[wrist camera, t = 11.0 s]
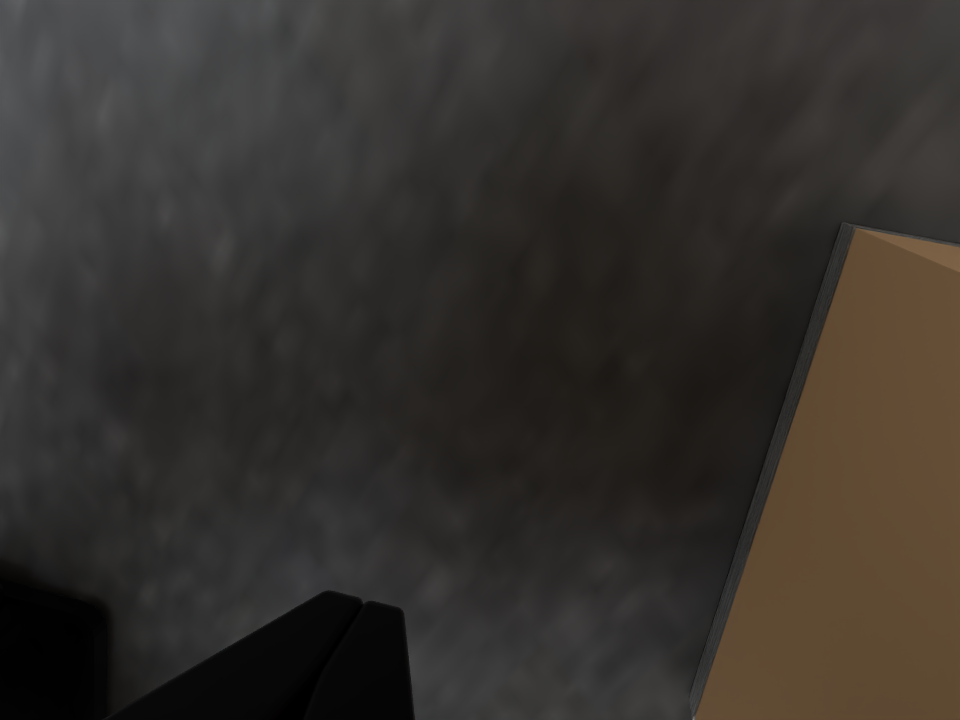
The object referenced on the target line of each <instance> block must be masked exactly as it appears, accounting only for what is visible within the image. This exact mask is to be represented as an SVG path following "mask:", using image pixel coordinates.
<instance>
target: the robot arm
mask: <svg viewBox="0 0 960 720" xmlns="http://www.w3.org/2000/svg"><path fill="white" fill-rule="evenodd" d="M78 627H79V628H80V629H79V628H78ZM106 666H107V626H106V621H105V618H104V617H103V615H102V613H101V612H100V611H99V610H98V609H97V608H96V607H95V606H93V605H92V604H89V603H87V602H85V601H81V600H77V599H73V598H70V597H66V596H62V595H58V594H54V593H51V592H47V591H43V590H39V589H35V588H31V587H28V586H24V585H20V584H16V583H12V582H9V581H5V580H1V579H0V720H415V714H414V705H413V695H412V685H411V675H410V666H409V656H408V646H407V637H406V627H405V617H404V612H403V610H402V609H401V608H399V607H395V606H391V605H387V604H383V603H379V602H375V601H368V602H365V603H364V604H363V601H362V600H361V599H360V598H358V597H355V596H351V595H347V594H343V593H339V592H335V591H329V590H328V591H324V592H322V593H320V594H318V595H316V596H315V597H313V598H311V599H310V600H308V601H306V602H304V603H303V604H301V605H299V606H297V607H296V608H294V609H292V610H291V611H289V612H287V613H285V614H284V615H282V616H280V617H278V618H277V619H275V620H273V621H272V622H270V623H268V624H266V625H265V626H263V627H261V628H260V629H258V630H256V631H254V632H253V633H251V634H249V635H247V636H246V637H244V638H242V639H241V640H239V641H237V642H235V643H234V644H232V645H230V646H228V647H227V648H225V649H223V650H222V651H220V652H218V653H216V654H215V655H213V656H211V657H210V658H208V659H206V660H204V661H203V662H201V663H199V664H197V665H196V666H194V667H192V668H191V669H189V670H187V671H185V672H184V673H182V674H180V675H178V676H177V677H175V678H173V679H172V680H170V681H168V682H166V683H165V684H163V685H161V686H160V687H158V688H156V689H154V690H153V691H151V692H149V693H147V694H146V695H144V696H142V697H141V698H139V699H137V700H135V701H134V702H132V703H130V704H128V705H127V706H125V707H123V708H122V709H120V710H118V711H116V712H115V713H113V714H111V715H110V716H108V717H106Z"/></svg>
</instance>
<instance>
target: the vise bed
mask: <svg viewBox="0 0 960 720" xmlns="http://www.w3.org/2000/svg"><path fill="white" fill-rule="evenodd" d="M856 228H857V229H863V230H868V231H874V232H879V233H884V234H890V235H895V236H901V237H906V238H912V239H917V240H922V241H928V242H933V243H939V244H944V245H950V246H955V247H960V244H958V243H953V242H947V241H942V240H936V239H931V238H925V237H920V236H914V235H909V234H904V233H898V232H893V231H887V230H882V229H876V228H871V227H865V226H860V225H855V224H849V223H844V222H842V223H841V226H840V229H839V232H838V235H837V238H836V241H835V245H834V248H833V251H832V254H831V257H830V260H829V263H828V266H827V269H826V273H825V276H824V279H823V282H822V285H821V288H820V291H819V294H818V297H817V301H816V304H815V307H814V310H813V313H812V316H811V319H810V322H809V325H808V328H807V332H806V335H805V338H804V341H803V344H802V347H801V350H800V353H799V356H798V360H797V363H796V366H795V369H794V372H793V375H792V378H791V381H790V384H789V387H788V391H787V394H786V397H785V400H784V403H783V406H782V409H781V412H780V415H779V419H778V422H777V425H776V428H775V431H774V434H773V437H772V440H771V443H770V446H769V450H768V453H767V456H766V459H765V462H764V465H763V468H762V471H761V474H760V478H759V481H758V484H757V487H756V490H755V493H754V496H753V499H752V502H751V505H750V509H749V512H748V515H747V518H746V521H745V524H744V527H743V530H742V533H741V537H740V540H739V543H738V546H737V549H736V552H735V555H734V558H733V561H732V564H731V568H730V571H729V574H728V577H727V580H726V583H725V586H724V589H723V592H722V596H721V599H720V602H719V605H718V608H717V611H716V614H715V617H714V620H713V624H712V627H711V630H710V633H709V636H708V639H707V642H706V645H705V648H704V651H703V655H702V658H701V661H700V664H699V667H698V670H697V673H696V676H695V679H694V683H693V686H692V689H691V692H690V695H689V700H690V708H691V715H692V720H695V716H696V713H697V710H698V707H699V704H700V701H701V698H702V695H703V692H704V689H705V686H706V683H707V680H708V677H709V674H710V671H711V668H712V665H713V662H714V659H715V656H716V653H717V650H718V647H719V644H720V641H721V637H722V634H723V631H724V628H725V625H726V622H727V619H728V616H729V613H730V610H731V607H732V604H733V601H734V598H735V595H736V592H737V589H738V586H739V583H740V580H741V577H742V574H743V571H744V568H745V565H746V562H747V558H748V555H749V552H750V549H751V546H752V543H753V540H754V537H755V534H756V531H757V528H758V525H759V522H760V519H761V516H762V513H763V510H764V507H765V504H766V501H767V498H768V495H769V492H770V489H771V486H772V483H773V479H774V476H775V473H776V470H777V467H778V464H779V461H780V458H781V455H782V452H783V449H784V446H785V443H786V440H787V437H788V434H789V431H790V428H791V425H792V422H793V419H794V416H795V413H796V410H797V407H798V404H799V400H800V397H801V394H802V391H803V388H804V385H805V382H806V379H807V376H808V373H809V370H810V367H811V364H812V361H813V358H814V355H815V352H816V349H817V346H818V343H819V340H820V337H821V334H822V331H823V328H824V325H825V321H826V318H827V315H828V312H829V309H830V306H831V303H832V300H833V297H834V294H835V291H836V288H837V285H838V282H839V279H840V276H841V273H842V270H843V267H844V264H845V261H846V258H847V255H848V252H849V249H850V246H851V242H852V239H853V236H854V233H855V230H856Z"/></svg>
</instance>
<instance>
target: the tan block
mask: <svg viewBox="0 0 960 720" xmlns="http://www.w3.org/2000/svg"><path fill="white" fill-rule="evenodd" d="M695 720H960V247H955V246H950V245H944V244H939V243H933V242H928V241H922V240H917V239H912V238H906V237H901V236H895V235H890V234H884V233H879V232H874V231H868V230H863V229H857V228H856V230H855V233H854V236H853V239H852V242H851V246H850V249H849V252H848V255H847V258H846V261H845V264H844V267H843V270H842V273H841V276H840V279H839V282H838V285H837V288H836V291H835V294H834V297H833V300H832V303H831V306H830V309H829V312H828V315H827V318H826V321H825V325H824V328H823V331H822V334H821V337H820V340H819V343H818V346H817V349H816V352H815V355H814V358H813V361H812V364H811V367H810V370H809V373H808V376H807V379H806V382H805V385H804V388H803V391H802V394H801V397H800V400H799V404H798V407H797V410H796V413H795V416H794V419H793V422H792V425H791V428H790V431H789V434H788V437H787V440H786V443H785V446H784V449H783V452H782V455H781V458H780V461H779V464H778V467H777V470H776V473H775V476H774V479H773V483H772V486H771V489H770V492H769V495H768V498H767V501H766V504H765V507H764V510H763V513H762V516H761V519H760V522H759V525H758V528H757V531H756V534H755V537H754V540H753V543H752V546H751V549H750V552H749V555H748V558H747V562H746V565H745V568H744V571H743V574H742V577H741V580H740V583H739V586H738V589H737V592H736V595H735V598H734V601H733V604H732V607H731V610H730V613H729V616H728V619H727V622H726V625H725V628H724V631H723V634H722V637H721V641H720V644H719V647H718V650H717V653H716V656H715V659H714V662H713V665H712V668H711V671H710V674H709V677H708V680H707V683H706V686H705V689H704V692H703V695H702V698H701V701H700V704H699V707H698V710H697V713H696V716H695Z"/></svg>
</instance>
